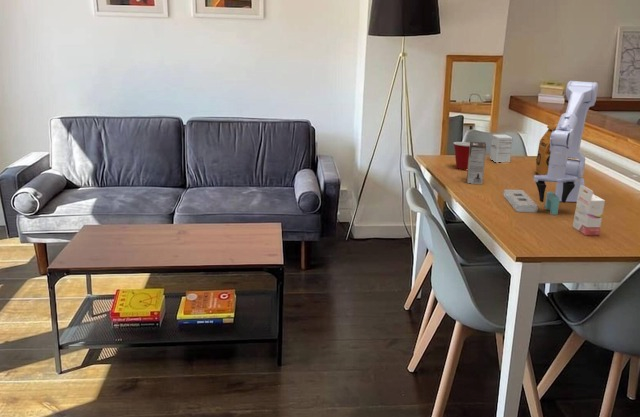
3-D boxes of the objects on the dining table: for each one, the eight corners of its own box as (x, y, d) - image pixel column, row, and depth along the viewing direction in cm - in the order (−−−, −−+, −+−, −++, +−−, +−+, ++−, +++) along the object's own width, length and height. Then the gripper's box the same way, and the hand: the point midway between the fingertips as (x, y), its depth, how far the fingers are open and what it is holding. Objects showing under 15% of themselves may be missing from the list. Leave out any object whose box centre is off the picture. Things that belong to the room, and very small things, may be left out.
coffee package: (537, 178, 252) (544, 128, 245) (533, 171, 264) (539, 123, 257) (562, 180, 251) (569, 129, 244) (556, 173, 262) (563, 124, 255)
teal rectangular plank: (550, 207, 213) (552, 192, 211) (557, 214, 206) (559, 198, 204) (544, 207, 213) (546, 191, 212) (551, 214, 206) (553, 198, 204)
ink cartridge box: (600, 235, 186) (607, 191, 182) (585, 235, 186) (592, 191, 181) (586, 226, 195) (593, 183, 190) (571, 226, 194) (578, 183, 190)
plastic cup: (478, 168, 269) (481, 142, 266) (470, 172, 261) (473, 146, 257) (455, 164, 275) (458, 139, 271) (447, 169, 266) (449, 143, 262)
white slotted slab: (521, 196, 227) (522, 190, 226) (536, 212, 208) (537, 205, 207) (503, 195, 227) (504, 189, 227) (516, 211, 208) (517, 205, 208)
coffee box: (466, 178, 252) (469, 141, 247) (481, 179, 250) (485, 142, 245) (466, 183, 243) (470, 145, 238) (482, 184, 242) (486, 146, 237)
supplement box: (489, 160, 285) (491, 134, 281) (503, 159, 286) (506, 134, 282) (495, 163, 278) (498, 137, 274) (510, 163, 279) (513, 137, 275)
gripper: (539, 166, 201) (534, 204, 205) (583, 167, 200) (577, 205, 204) (534, 161, 208) (529, 198, 212) (575, 163, 207) (570, 199, 211)
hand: (552, 201), depth 208 cm, fingers open, 7 cm apart
